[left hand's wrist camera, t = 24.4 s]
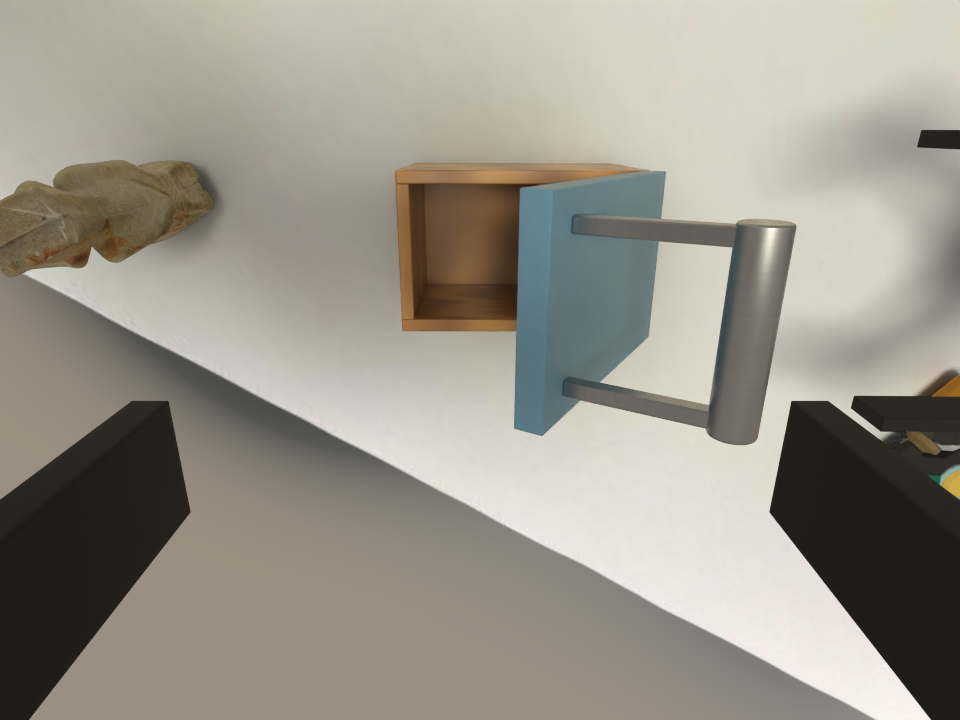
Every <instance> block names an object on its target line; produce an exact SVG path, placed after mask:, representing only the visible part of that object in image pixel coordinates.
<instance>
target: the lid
mask: <svg viewBox="0 0 960 720" xmlns="http://www.w3.org/2000/svg"><path fill="white" fill-rule="evenodd" d="M665 175H666V172H665V171H639V172H632V173H625V174H618V175H611V176H603V177H596V178H589V179H582V180H575V181H567V182H560V183H553V184H546V185H539V186H531V187H524V188H520V209H519V250H518V292H517V333H516V374H515V416H514V428H515V429H518V430H521V431H525V432H529V433H533V434H536V435H540V436H543V435H544V434H545V433H546V432H547V431H548V430H549V429H550V428H551V427H552V426H553V425H554V424H556V423H557V422H558V421H559V420H560V419H561V418H562V417H563V416H564V415H565V414H566V413H567V412H568V411H569V410H571V409H572V408H573V407H574V406H575V405H576V404H577V403H578V402H579V401H580V400H582V401H587V402H591V403H595V404H600V405H604V406H609V407H613V408H618V409H622V410H626V411H631V412H635V413H640V414H644V415H649V416H653V417H657V418H662V419H666V420H671V421H675V422H680V423H684V424H689V425H693V426H697V427H702V428H706V431H707V433H708V435H710V436H711V437H712V438H714V439H716V440H718V441H721V442H724V443H728V444H733V445H747V444H751V443H754V442H755V441H756V440H757V438H758V433H759V428H760V422H761V417H762V411H763V406H764V400H765V395H766V389H767V384H768V379H769V373H770V368H771V362H772V357H773V351H774V346H775V341H776V335H777V330H778V324H779V319H780V313H781V308H782V302H783V297H784V292H785V286H786V281H787V275H788V270H789V264H790V259H791V254H792V248H793V243H794V237H795V232H796V224H794V223H792V222H787V221H780V220H767V219H746V220H740V221H738V222H737V223H736V224H728V223H713V222H698V221H682V220H667V219H661V213H662V204H663V194H664V185H665ZM659 241H662V242H674V243H686V244H698V245H710V246H723V247H733V249H732V256H731V263H730V269H729V276H728V283H727V289H726V296H725V303H724V309H723V316H722V323H721V330H720V336H719V343H718V350H717V356H716V363H715V370H714V377H713V383H712V390H711V397H710V403H709V405H705V404H700V403H695V402H691V401H686V400H681V399H676V398H671V397H666V396H662V395H657V394H652V393H647V392H642V391H637V390H633V389H628V388H623V387H618V386H613V385H608V384H604V383H599V382H600V381H602V380H603V379H604V378H605V377H606V376H607V375H608V374H609V373H610V372H611V371H612V370H613V369H614V368H615V367H617V366H618V365H619V364H620V363H621V362H622V361H623V360H624V359H625V358H626V357H627V356H628V355H629V354H630V353H631V352H633V351H634V350H635V349H636V348H637V347H638V346H639V345H640V344H641V343H642V342H643V341H644V340H645V339H646V338H648V336H649V327H650V318H651V308H652V299H653V289H654V280H655V270H656V261H657V251H658V242H659Z"/></svg>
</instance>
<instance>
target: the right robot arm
mask: <svg viewBox="0 0 960 720" xmlns="http://www.w3.org/2000/svg"><path fill="white" fill-rule="evenodd" d="M917 147H922V148H943V149H960V130H921V134H920V138H919V142H918V146H917ZM851 409H853V410H854V411H855V412H857V413H858V414H859V415H860V416H862V417H863V418H864V419H865V420H867V421H868V422H869V423H871V424H872V425H873V426H874V427H876V428H877V429H878V430H880V431H886V432H920V433H921V434H923V435H924V436H926V437H927V438H928V439H930V440H931V441H933V442H934V443H937V444H939V445H948V446H952V445H954V446H960V397H941V396H854V398H853V402H852V406H851Z"/></svg>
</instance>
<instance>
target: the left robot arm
mask: <svg viewBox="0 0 960 720" xmlns="http://www.w3.org/2000/svg"><path fill="white" fill-rule="evenodd" d="M189 514H190V507H189V502H188V497H187V492H186V487H185V482H184V477H183V472H182V467H181V462H180V457H179V452H178V447H177V442H176V437H175V432H174V427H173V422H172V417H171V412H170V407H169V402H168V401H131V402H130V403H129V404H127V405H126V406H125V407H123V408H122V409H121V410H119V411H118V412H117V413H115V414H114V415H113V416H111V417H110V418H109V419H107V420H106V421H105V422H103V423H102V424H101V425H99V426H98V427H97V428H95V429H94V430H93V431H91V432H90V433H89V434H87V435H86V436H85V437H83V438H82V439H81V440H79V441H78V442H77V443H75V444H74V445H73V446H71V447H70V448H69V449H67V450H66V451H65V452H63V453H62V454H61V455H59V456H58V457H57V458H55V459H54V460H53V461H51V462H50V463H49V464H47V465H46V466H45V467H43V468H42V469H41V470H39V471H38V472H37V473H35V474H34V475H33V476H31V477H30V478H29V479H27V480H26V481H25V482H23V483H22V484H21V485H19V486H18V487H17V488H15V489H14V490H13V491H11V492H10V493H9V494H7V495H6V496H5V497H3V498H2V499H1V500H0V720H29V719H30V718H31V716H32V715H33V714H34V713H35V711H36V710H37V709H38V707H39V706H40V705H41V703H42V702H43V701H44V700H45V698H46V697H47V696H48V695H49V693H50V692H51V691H52V689H53V688H54V687H55V685H56V684H57V683H58V682H59V680H60V679H61V678H62V677H63V675H64V674H65V673H66V671H67V670H68V669H69V668H70V666H71V665H72V664H73V662H74V661H75V660H76V659H77V657H78V656H79V655H80V653H81V652H82V651H83V650H84V648H85V647H86V646H87V644H88V643H89V642H90V641H91V639H92V638H93V637H94V636H95V634H96V633H97V632H98V630H99V629H100V628H101V626H102V625H103V624H104V623H105V621H106V620H107V619H108V618H109V616H110V615H111V614H112V612H113V611H114V610H115V608H116V607H117V606H118V605H119V603H120V602H121V601H122V600H123V598H124V597H125V596H126V594H127V593H128V592H129V591H130V589H131V588H132V587H133V585H134V584H135V583H136V582H137V580H138V579H139V578H140V576H141V575H142V574H143V573H144V571H145V570H146V569H147V567H148V566H149V565H150V564H151V562H152V561H153V560H154V558H155V557H156V556H157V555H158V553H159V552H160V551H161V549H162V548H163V547H164V546H165V544H166V543H167V542H168V540H169V539H170V538H171V537H172V535H173V534H174V533H175V531H176V530H177V529H178V528H179V526H180V525H181V524H182V522H183V521H184V520H185V519H186V517H187V516H188V515H189ZM770 514H771V515H772V516H773V517H774V519H775V520H776V521H777V522H778V524H779V525H780V526H781V528H782V529H783V530H784V531H785V533H786V534H787V535H788V537H789V538H790V539H791V540H792V542H793V543H794V544H795V546H796V547H797V548H798V549H799V551H800V552H801V553H802V555H803V556H804V557H805V558H806V560H807V561H808V562H809V564H810V565H811V566H812V567H813V569H814V570H815V571H816V573H817V574H818V575H819V576H820V578H821V579H822V580H823V582H824V583H825V584H826V585H827V587H828V588H829V589H830V591H831V592H832V593H833V594H834V596H835V597H836V598H837V600H838V601H839V602H840V603H841V605H842V606H843V607H844V609H845V610H846V611H847V612H848V614H849V615H850V616H851V618H852V619H853V620H854V621H855V623H856V624H857V625H858V627H859V628H860V629H861V630H862V632H863V633H864V634H865V636H866V637H867V638H868V639H869V641H870V642H871V643H872V644H873V646H874V647H875V648H876V650H877V651H878V652H879V653H880V655H881V656H882V657H883V659H884V660H885V661H886V662H887V664H888V665H889V666H890V668H891V669H892V670H893V671H894V673H895V674H896V675H897V677H898V678H899V679H900V680H901V682H902V683H903V684H904V686H905V687H906V688H907V689H908V691H909V692H910V693H911V695H912V696H913V697H914V698H915V700H916V701H917V702H918V704H919V705H920V706H921V707H922V709H923V710H924V711H925V713H926V714H927V715H928V716H929V718H930V719H931V720H960V500H959V499H958V498H957V497H955V496H954V495H953V494H951V493H950V492H949V491H947V490H946V489H945V488H943V487H942V486H941V485H939V484H938V483H937V482H935V481H934V480H933V479H931V478H930V477H929V476H927V475H926V474H925V473H923V472H922V471H921V470H919V469H918V468H917V467H915V466H914V465H913V464H911V463H910V462H909V461H907V460H906V459H905V458H903V457H902V456H901V455H899V454H898V453H897V452H895V451H894V450H893V449H891V448H890V447H889V446H887V445H886V444H885V443H883V442H882V441H881V440H879V439H878V438H877V437H875V436H874V435H873V434H871V433H870V432H869V431H867V430H866V429H865V428H863V427H862V426H861V425H859V424H858V423H857V422H855V421H854V420H853V419H851V418H850V417H849V416H847V415H846V414H845V413H843V412H842V411H841V410H839V409H838V408H837V407H835V406H834V405H833V404H831V403H830V402H829V401H792V402H791V407H790V412H789V417H788V422H787V427H786V432H785V437H784V442H783V447H782V452H781V457H780V462H779V467H778V472H777V477H776V482H775V487H774V492H773V497H772V502H771V507H770Z"/></svg>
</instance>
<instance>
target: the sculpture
mask: <svg viewBox="0 0 960 720" xmlns="http://www.w3.org/2000/svg"><path fill="white" fill-rule="evenodd" d="M198 179H199V174H198V173H197V171H196V170H195V168H194V167H193V165H192V164H191V163H185V162H182V161H160V162H153V163H147V164H143V165H140V166H135V165H133V164H131V163H128V162H126V161H122V160H113V161H105V162H99V163H89V164H79V165H73V166H69V167H66V168H64V169H63V170H61V171H60V172H58V173H57V174H56V175H55V177H54V180H53V185H54V188H53V187H50V186H48V185H45V184H42V183H39V182H36V181H26V182H24V183H22V184H20V185H19V186H18V187H17V189H16V191H15V193H14V194H12V195H10V196H8V197H6V198H4V199H2V200H1V201H0V271H1V272H2V273H3V274H4V275H6V276H7V277H14V276H17V275H20V274H22V273H24V272H26V271H29V270H31V269H38V268H48V267H72V268H83V267H84V266H85V265H86V264H87V262H88V259H89V255H90V251H91V247H93V248H94V249H95V250H96V251H97V252H98V253H99V254H100V255H101V256H102V257H104V258H105V259H106V260H108V261H110V262H117V263H118V262H121V261H123V260H124V259H126V258H128V257H130V256H131V255H133V254H135V253H136V252H138V251H139V250H141V249H143V248H144V247H146V246H148V245H150V244H152V243H156V242H160V241H162V240H165V239H167V238H169V237H171V236H173V235H175V234H176V233H178V232H180V231H181V230H183V229H184V228H186V227H187V226H189V225H190V224H192V223H193V222H195V221H196V220H197V219H198V218H200V217H201V216H203V215H204V214H206V213H207V212H208V211H210V210H211V209H212V208H213V202H212V200H211V197H210V195H209V193H208V192H207V191H205V190H203V189H202V187H201V185H200V183H199V181H198Z"/></svg>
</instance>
